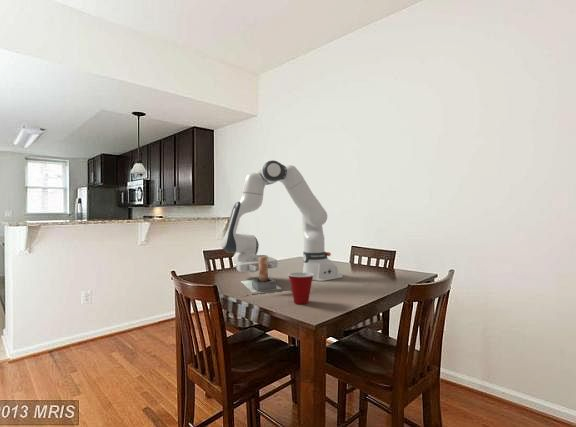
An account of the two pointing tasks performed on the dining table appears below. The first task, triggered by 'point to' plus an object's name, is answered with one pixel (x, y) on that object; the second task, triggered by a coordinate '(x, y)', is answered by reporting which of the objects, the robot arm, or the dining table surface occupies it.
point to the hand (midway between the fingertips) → (264, 267)
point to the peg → (263, 269)
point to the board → (261, 285)
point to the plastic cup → (301, 286)
